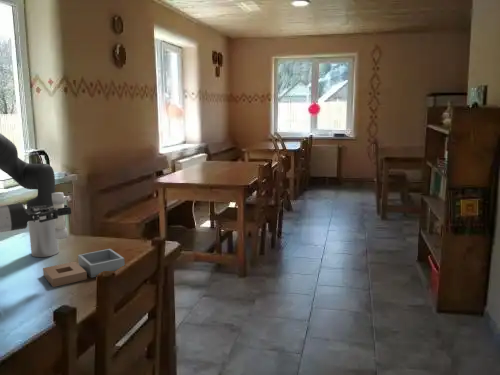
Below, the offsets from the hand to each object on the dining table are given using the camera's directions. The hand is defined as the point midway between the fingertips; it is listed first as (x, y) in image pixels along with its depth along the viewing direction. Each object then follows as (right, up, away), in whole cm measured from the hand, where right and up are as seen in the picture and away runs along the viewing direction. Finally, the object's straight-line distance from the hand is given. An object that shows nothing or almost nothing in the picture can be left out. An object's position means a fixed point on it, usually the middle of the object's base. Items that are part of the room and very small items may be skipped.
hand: (68, 209), depth 143 cm
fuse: (-2, -9, 0) cm, 9 cm away
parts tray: (+7, -20, +10) cm, 23 cm away
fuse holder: (-2, -22, +2) cm, 22 cm away
